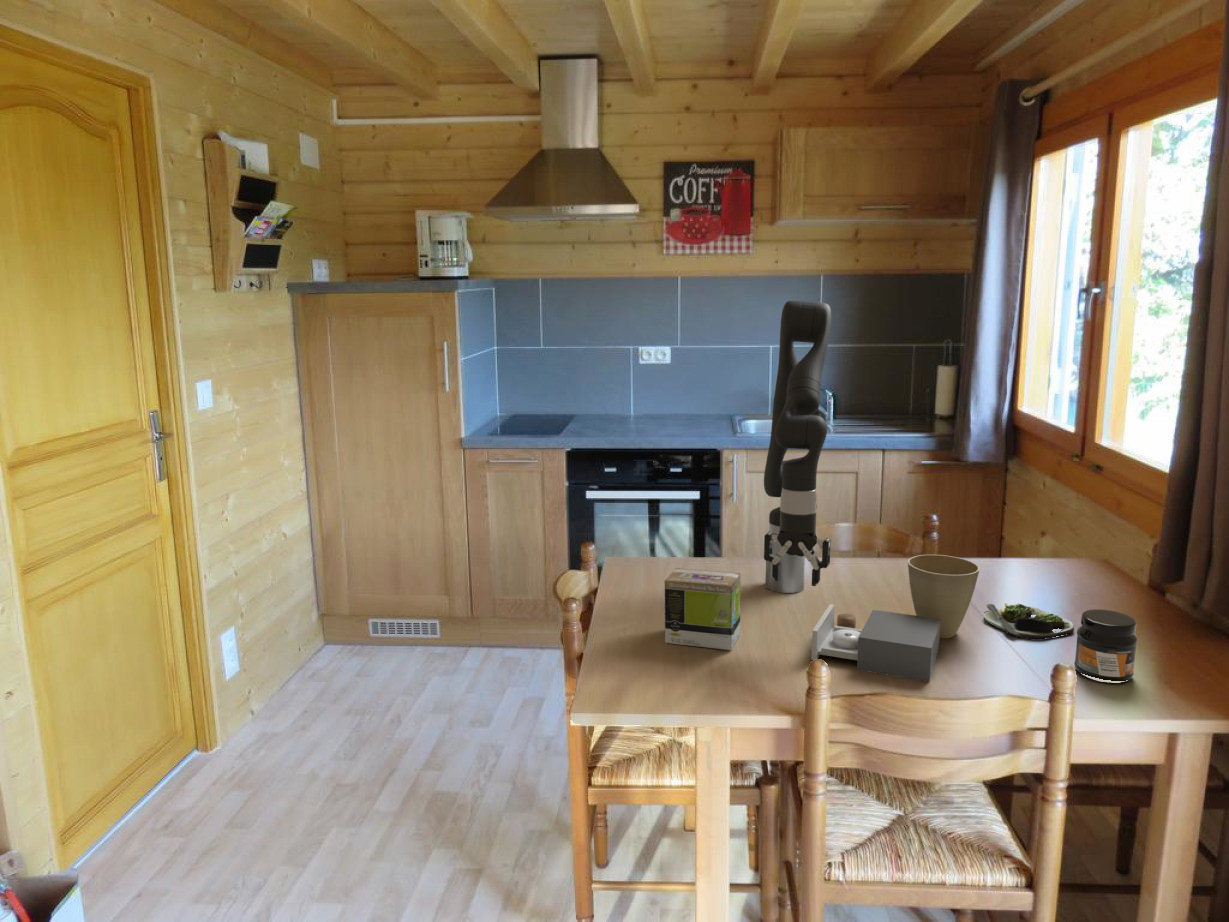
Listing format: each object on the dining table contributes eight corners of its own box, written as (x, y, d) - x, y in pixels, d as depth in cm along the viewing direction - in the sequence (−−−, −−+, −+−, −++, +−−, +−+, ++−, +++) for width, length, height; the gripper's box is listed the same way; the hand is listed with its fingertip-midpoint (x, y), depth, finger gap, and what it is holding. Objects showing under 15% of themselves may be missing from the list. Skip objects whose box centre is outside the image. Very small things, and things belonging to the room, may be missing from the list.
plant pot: (940, 650, 194) (945, 578, 191) (889, 627, 207) (893, 560, 204) (989, 637, 200) (994, 568, 197) (937, 616, 213) (941, 550, 210)
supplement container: (1107, 689, 174) (1113, 630, 172) (1061, 669, 184) (1066, 612, 182) (1145, 680, 179) (1152, 622, 176) (1098, 660, 188) (1103, 604, 186)
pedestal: (835, 633, 203) (835, 618, 203) (838, 627, 207) (839, 612, 206) (853, 636, 202) (854, 621, 201) (856, 630, 205) (857, 615, 205)
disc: (861, 650, 189) (861, 641, 189) (830, 646, 191) (830, 637, 191) (865, 639, 195) (865, 631, 194) (835, 635, 197) (835, 627, 197)
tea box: (740, 635, 203) (742, 571, 200) (731, 652, 194) (732, 586, 191) (675, 627, 208) (675, 565, 205) (663, 643, 199) (663, 579, 196)
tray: (811, 659, 188) (812, 630, 187) (828, 631, 203) (829, 604, 202) (879, 671, 182) (881, 641, 181) (892, 640, 198) (894, 613, 196)
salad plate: (959, 615, 214) (961, 597, 213) (1020, 606, 220) (1021, 588, 219) (1021, 646, 197) (1023, 626, 196) (1085, 634, 202) (1087, 615, 201)
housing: (857, 669, 184) (858, 637, 183) (871, 639, 200) (872, 609, 198) (929, 681, 179) (931, 648, 177) (938, 650, 194) (940, 619, 192)
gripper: (760, 509, 192) (758, 583, 195) (828, 516, 186) (825, 592, 189) (769, 501, 199) (768, 573, 202) (836, 507, 193) (833, 581, 196)
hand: (795, 582), depth 196 cm, fingers open, 7 cm apart
